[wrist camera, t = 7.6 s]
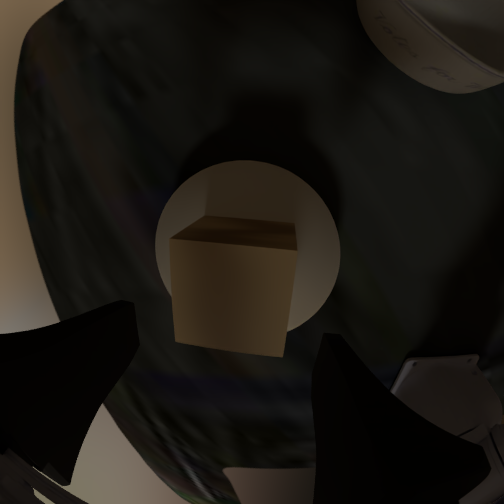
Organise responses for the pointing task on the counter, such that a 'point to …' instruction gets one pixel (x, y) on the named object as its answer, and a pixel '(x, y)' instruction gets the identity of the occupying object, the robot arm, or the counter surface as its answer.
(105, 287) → the counter surface
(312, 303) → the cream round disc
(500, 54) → the teacup
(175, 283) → the oak cube
